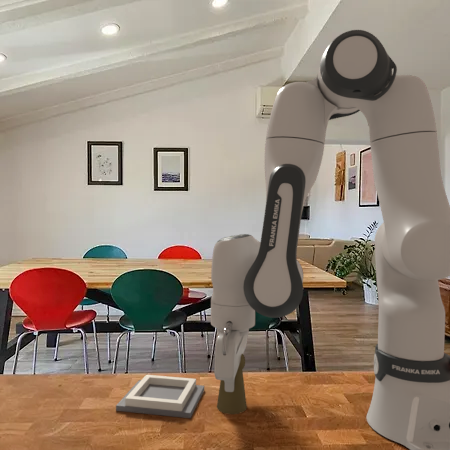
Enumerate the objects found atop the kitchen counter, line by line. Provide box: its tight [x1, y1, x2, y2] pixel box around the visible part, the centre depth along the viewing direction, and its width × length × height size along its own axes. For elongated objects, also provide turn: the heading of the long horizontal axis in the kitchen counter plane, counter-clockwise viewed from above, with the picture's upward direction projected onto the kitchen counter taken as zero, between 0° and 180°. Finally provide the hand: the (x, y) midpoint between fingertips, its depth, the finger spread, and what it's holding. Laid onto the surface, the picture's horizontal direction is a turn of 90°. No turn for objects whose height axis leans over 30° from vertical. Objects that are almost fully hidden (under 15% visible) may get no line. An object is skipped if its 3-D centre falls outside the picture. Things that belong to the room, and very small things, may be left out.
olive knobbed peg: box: [216, 353, 248, 415], centre depth 81 cm, size 6×6×11 cm
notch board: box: [115, 374, 205, 419], centre depth 83 cm, size 15×12×2 cm
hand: (232, 383), depth 81 cm, fingers closed on olive knobbed peg, 4 cm apart
